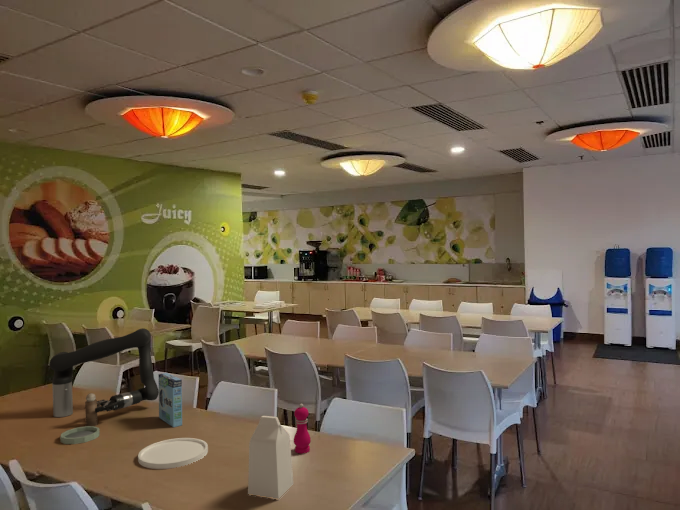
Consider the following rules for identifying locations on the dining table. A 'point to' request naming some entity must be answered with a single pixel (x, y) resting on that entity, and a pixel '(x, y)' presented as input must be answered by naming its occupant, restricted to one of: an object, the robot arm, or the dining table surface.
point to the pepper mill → (302, 431)
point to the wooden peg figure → (91, 410)
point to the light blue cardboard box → (170, 399)
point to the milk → (270, 459)
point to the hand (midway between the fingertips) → (90, 409)
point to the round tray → (79, 435)
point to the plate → (172, 453)
